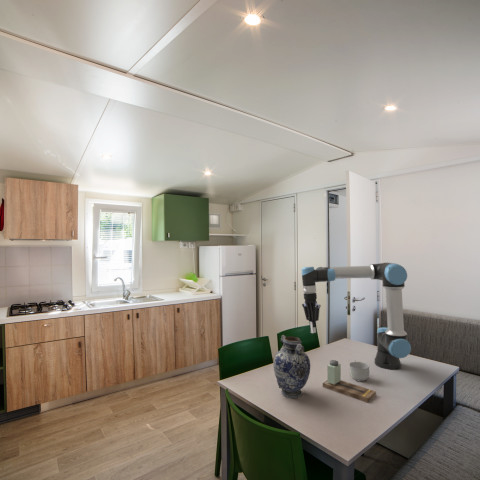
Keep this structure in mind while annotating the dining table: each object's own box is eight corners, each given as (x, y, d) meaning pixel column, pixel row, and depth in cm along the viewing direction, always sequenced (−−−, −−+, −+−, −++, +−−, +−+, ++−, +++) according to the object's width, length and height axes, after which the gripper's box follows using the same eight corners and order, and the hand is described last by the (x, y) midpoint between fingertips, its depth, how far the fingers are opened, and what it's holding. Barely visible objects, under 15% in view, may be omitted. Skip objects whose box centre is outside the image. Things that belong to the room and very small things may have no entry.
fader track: (322, 386, 167) (322, 382, 167) (331, 380, 175) (331, 377, 175) (367, 402, 151) (367, 398, 151) (375, 395, 158) (375, 391, 158)
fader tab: (327, 382, 167) (327, 362, 167) (333, 378, 172) (333, 358, 172) (334, 384, 164) (334, 364, 164) (341, 380, 169) (340, 360, 169)
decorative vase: (265, 386, 167) (266, 334, 167) (296, 382, 174) (297, 331, 174) (285, 406, 147) (286, 346, 147) (319, 400, 154) (319, 342, 154)
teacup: (371, 383, 171) (371, 369, 171) (350, 382, 173) (350, 367, 174) (366, 373, 185) (366, 359, 185) (347, 371, 187) (346, 358, 187)
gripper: (297, 293, 192) (301, 332, 190) (313, 293, 181) (317, 335, 179) (306, 291, 196) (309, 330, 194) (322, 292, 185) (326, 332, 183)
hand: (313, 332), depth 187 cm, fingers closed
